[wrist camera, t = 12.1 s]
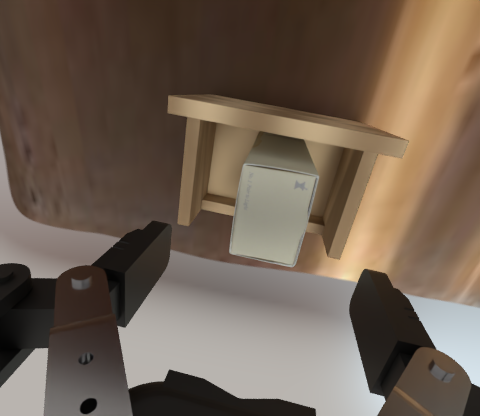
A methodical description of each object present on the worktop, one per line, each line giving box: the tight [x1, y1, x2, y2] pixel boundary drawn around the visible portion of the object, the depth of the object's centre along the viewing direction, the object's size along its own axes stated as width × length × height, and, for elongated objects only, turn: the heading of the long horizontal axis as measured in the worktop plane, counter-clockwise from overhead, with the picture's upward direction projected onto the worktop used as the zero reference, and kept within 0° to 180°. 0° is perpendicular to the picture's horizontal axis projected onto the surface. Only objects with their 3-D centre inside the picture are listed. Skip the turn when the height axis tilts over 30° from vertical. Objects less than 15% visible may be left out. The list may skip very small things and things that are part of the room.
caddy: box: [168, 94, 409, 260], centre depth 24 cm, size 14×10×11 cm
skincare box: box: [229, 131, 319, 267], centre depth 22 cm, size 6×4×12 cm
